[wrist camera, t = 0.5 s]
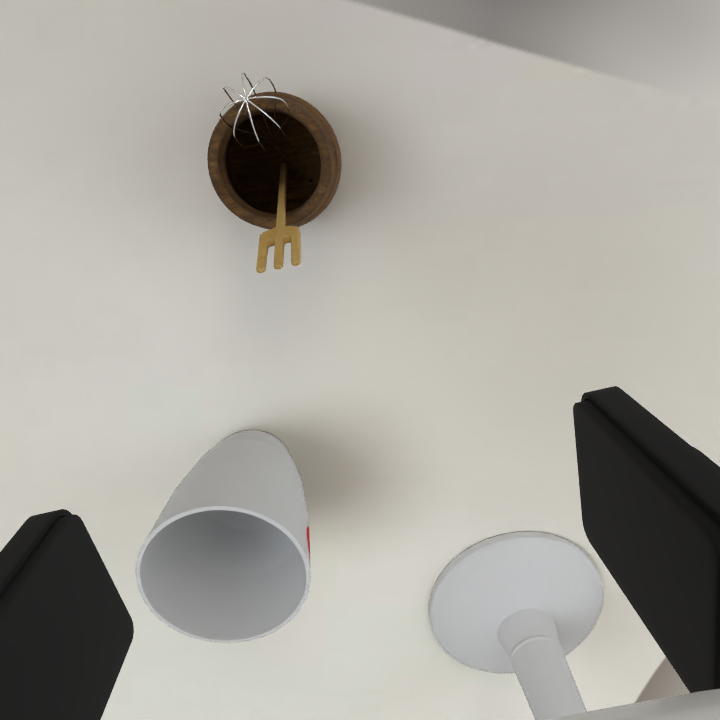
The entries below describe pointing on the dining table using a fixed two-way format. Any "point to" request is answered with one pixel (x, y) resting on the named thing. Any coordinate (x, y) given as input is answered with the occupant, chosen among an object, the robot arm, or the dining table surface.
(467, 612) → the candlestick
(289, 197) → the utensil holder
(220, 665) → the dining table surface
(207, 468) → the cup
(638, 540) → the robot arm
